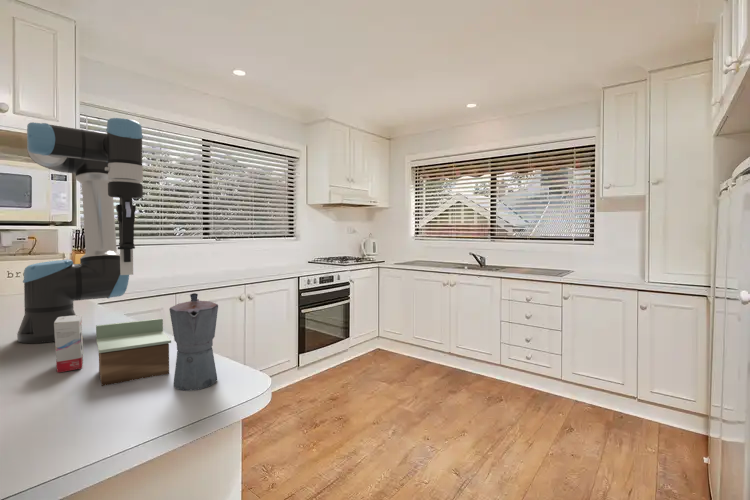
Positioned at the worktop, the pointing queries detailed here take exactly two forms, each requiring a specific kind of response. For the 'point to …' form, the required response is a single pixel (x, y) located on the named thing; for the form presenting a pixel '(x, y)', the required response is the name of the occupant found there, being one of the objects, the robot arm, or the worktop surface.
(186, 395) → the worktop surface
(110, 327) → the lid
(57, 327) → the ink box
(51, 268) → the robot arm
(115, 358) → the walnut box
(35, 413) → the worktop surface
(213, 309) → the moka pot
